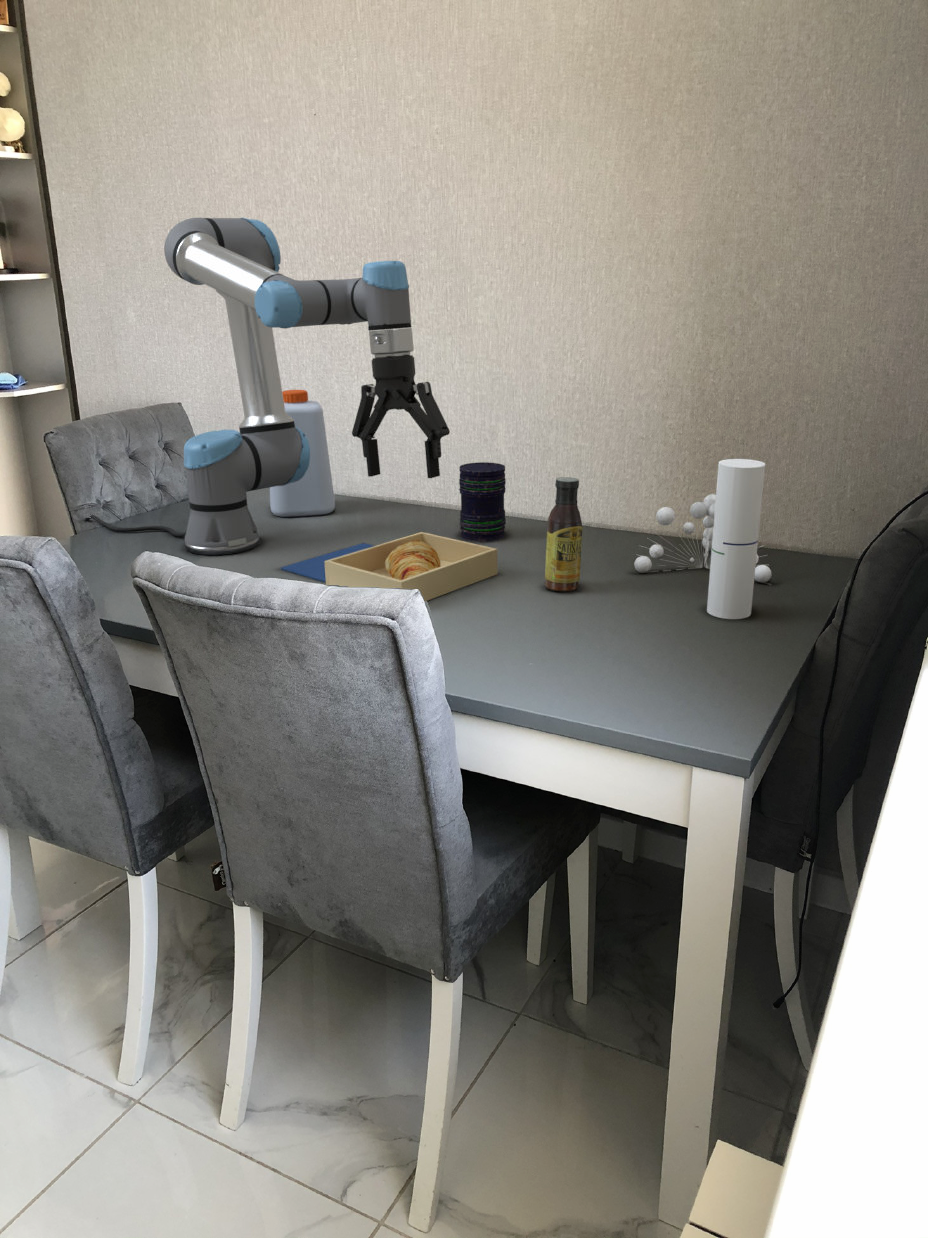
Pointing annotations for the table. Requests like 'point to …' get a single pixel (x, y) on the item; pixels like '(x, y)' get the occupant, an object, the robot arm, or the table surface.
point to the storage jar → (482, 501)
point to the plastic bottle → (316, 484)
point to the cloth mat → (321, 563)
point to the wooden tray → (456, 571)
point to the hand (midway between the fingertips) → (403, 476)
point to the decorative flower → (698, 512)
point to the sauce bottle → (564, 538)
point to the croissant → (411, 560)
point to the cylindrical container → (735, 537)
